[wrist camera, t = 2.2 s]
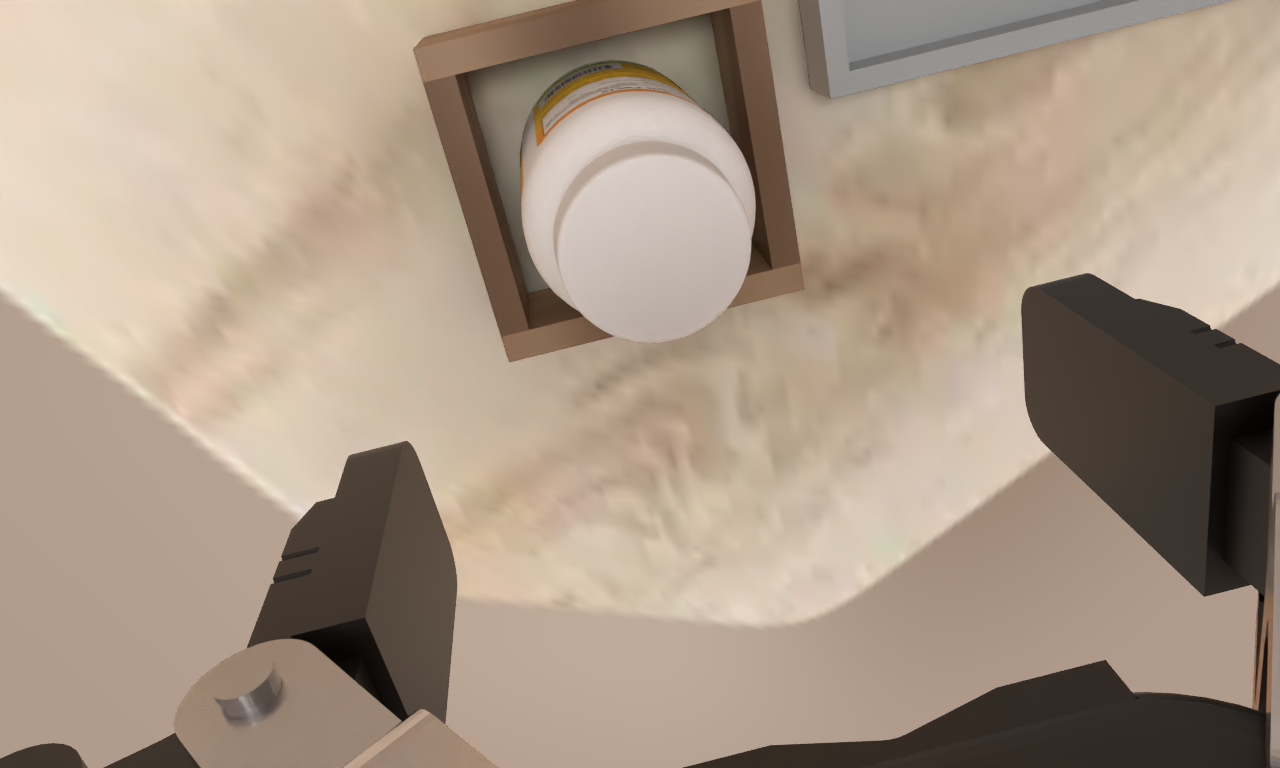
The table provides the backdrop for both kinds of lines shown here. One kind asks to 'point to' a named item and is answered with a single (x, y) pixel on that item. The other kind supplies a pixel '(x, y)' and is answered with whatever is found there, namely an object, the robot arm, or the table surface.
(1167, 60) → the table surface
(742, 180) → the supplement bottle
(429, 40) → the holder
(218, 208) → the table surface
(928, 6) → the tray
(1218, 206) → the table surface
